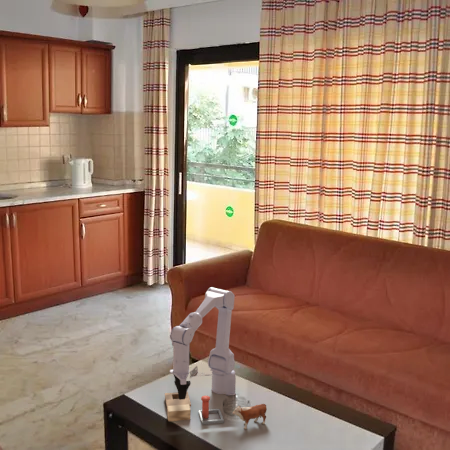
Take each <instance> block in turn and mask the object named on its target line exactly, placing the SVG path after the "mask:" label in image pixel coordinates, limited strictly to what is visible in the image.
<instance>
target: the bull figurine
mask: <svg viewBox="0 0 450 450" xmlns="http://www.w3.org/2000/svg"><path fill="white" fill-rule="evenodd" d="M266 413H267V405H266V403H261V404H256V405H251V406H246V407H245V406H243V407H241V405H238V406H236V407H235V409H234V410H233V411H232V415H233V416H234V415H235V416H237V417H239V418H240V420H241V421H242V422H244V423H243V426H244V427H243V430H245V431H246V430H247V429H248V424H249V422H250V421H251V420H253V423H257V421H259V419H261V418H262V419H263V420H262V422H261V425H265V423H266V418H267V416H266Z"/></svg>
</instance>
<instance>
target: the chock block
mask: <svg viewBox="0 0 450 450" xmlns="http://www.w3.org/2000/svg"><path fill="white" fill-rule="evenodd" d="M166 408H167V409H166V410H167V413H166V414H167V415H166V416H167V421H168V422H177V421H189V420H191V411H192V410H191V406H189V404H186V405H173V406H167V405H166Z"/></svg>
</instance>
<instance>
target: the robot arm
mask: <svg viewBox="0 0 450 450" xmlns="http://www.w3.org/2000/svg"><path fill="white" fill-rule="evenodd" d="M235 297H236V296H235V294H234V292H233V291H231V290H225V289H222V288H216V287H214V286H211V287H209V288H208V289H207V290H206V292H205V295H204V299H203V300H202V302H201V303H200V305H199V307H197V309H196V310H195V311H194V312H190V313H189V314H188V315H187V316H186V317H185V319H184V320H183V321H181V323H180V324H179V325H176V326H173V328H171V331H170V334H169V339H170V341H171V346H172V347H173V349H172V351H173V353H172V354H173V355H172V357H173V358H172V362H173V363H172V364H173V365H172V369H169V373H170V375H171V374H172V375H173V377H174V385H175V387H176V390H177V392H178V396H179V400H181V399H185V398H186V394H187V392H188V390H189V387H190V386H191V384H192V383H191V380H187V379H188V377H189V376H190V375H189V374H190V371H191V370H190V344H191V342H192V341H193V338H194V336H195V334H196V333H195V332H196V331H197V330H198V329H199V327H200V326H201V325H202V324H203V318H204V317H205V316H206V315H207V314H209V313H210V311H212V309H214V308H216V309H217V310H218V314H217V325H216V326H217V327H216V337H215V348H212V349H211V350H210V351H209V357H208V359H207V365H208V368H210V371H211V374H212V375H211V391H212V393H215V394H218V395H224V394H225V395H226V397H227V396H236V383H237V382H236V377H237V376H236V371H235V365H236V362H235V354H234V353H233V352H232V350H231V349H230V348H229V347H230V335H231V334H230V333H231V325H232V324H231V323H232V313H233V310H234V307H235V299H236V298H235Z"/></svg>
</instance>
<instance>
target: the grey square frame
mask: <svg viewBox="0 0 450 450" xmlns="http://www.w3.org/2000/svg"><path fill="white" fill-rule="evenodd" d="M212 413H214V414H215V413H217V414H218V416H219V419H208V420H206V419H205V420H204V418H203V417H202V409H201V410H200V409H199V410H198V415H199V419H200V422H201V425H210V424H212V425H213V424H224V421H225V420H224V417H223V415H222V414H223V413H222V411H221V408H212V409H209V414H212Z"/></svg>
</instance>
